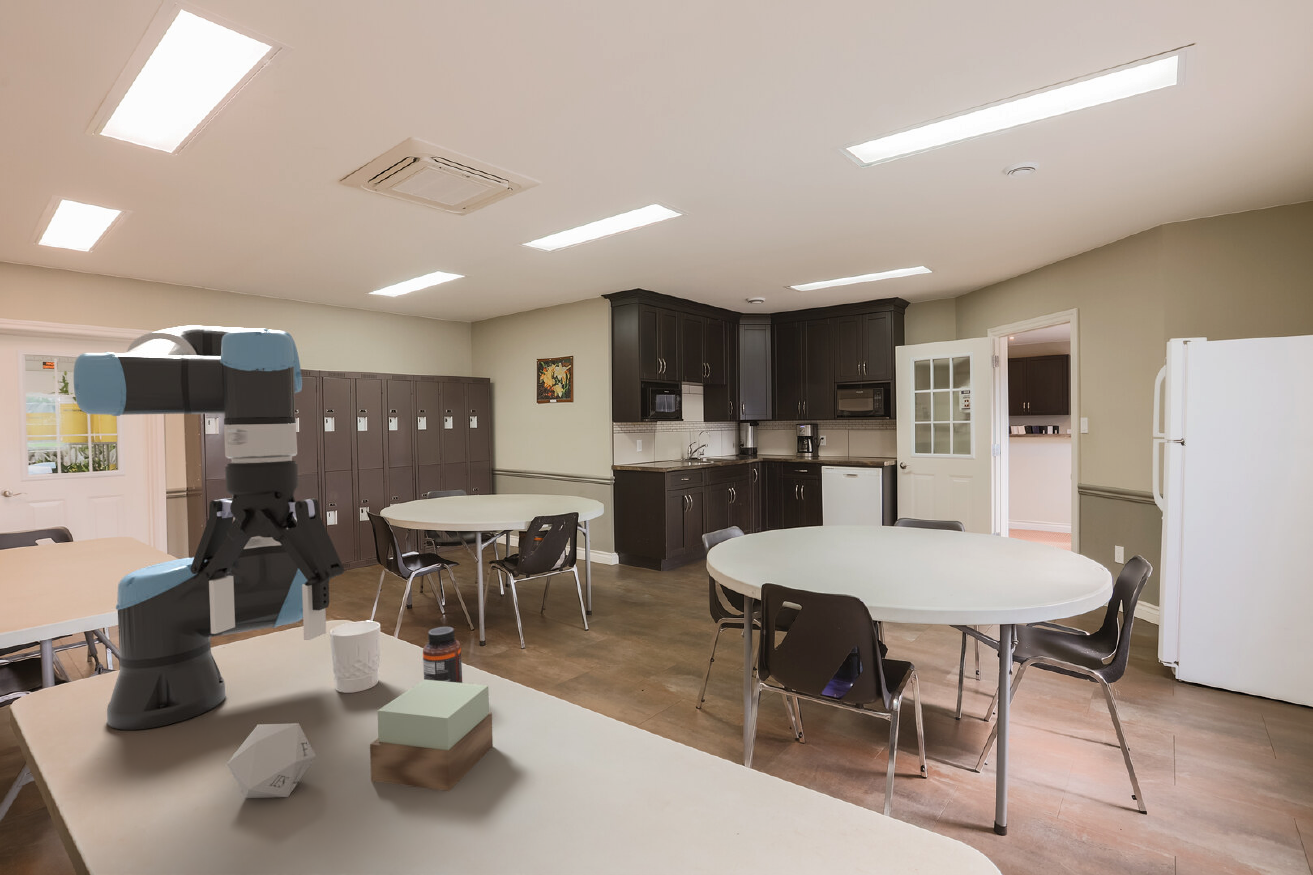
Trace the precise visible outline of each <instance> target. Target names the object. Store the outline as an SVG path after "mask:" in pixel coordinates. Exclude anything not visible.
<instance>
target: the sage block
mask: <svg viewBox="0 0 1313 875" xmlns="http://www.w3.org/2000/svg"><path fill="white" fill-rule="evenodd" d="M489 691H490V690H489V685H485V684H475V683H466V682H462V683H456V682H446V681H435V680H424V679H423V680H422V681H420V682H419V683H417V684H416V685H414V686H412V687H411V688H409V689H407V690H406V691H405V692H403V693H402V694H400V695H398V696H397V697H395V698H394V699H393V700H391V701H390V702H388V703H386V704H385V705H384V706H382V707H381V708H379V709H378V710H377V739H378V742H385V743H393V744H401V745H410V746H418V747H426V748H434V749H442V750H449V749H450V748H452V747H453V746H454V745H455V744H456V743H457V742H458V741H459V740H461V739H462V738H463V737H464V736H465V735H466V734H467V733H468V732H470V731H471V730H472V729H473V728H474V727H475V726H476V725H477V724H479V723H480V722H481V721H482V720H483V719H484V718H485V717H486V716H488V715H489V713H490V698H489V696H490V695H489V694H490V693H489Z"/></svg>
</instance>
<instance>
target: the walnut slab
mask: <svg viewBox="0 0 1313 875" xmlns="http://www.w3.org/2000/svg"><path fill="white" fill-rule="evenodd" d="M493 738H494V737H493V712H489V715H488V716H486V717H485V718H484V719H483V720H482V721H481V722H480V723H479V724H477V725H476V726H475V727H474V728H473V729H472V730H471V731H470V732H468V733H467V734H466V735H465V736H464V737H463V738H462V739H461V740H459V741H458V742H457V743H456V744H455V745H454V746H453V747H452V748H450V749H449V750H442V749H434V748H426V747H418V746H410V745H401V744H393V743H385V742H378V738H376V739H375V740H374V741H372V742H371V743H369V750H370V752H369V754H370V781H371V782H378V783H385V784H386V783H387V784H395V785H401V786H402V785H403V786H409V787H417V788H424V789H425V788H426V789H432V790H440V791H448V792H450V791H451V790H452V789H453V788H454V787H455V786H456V784H457V783H459V781H461V780H462V778H464V776H466V774H467V773H468V772H469V771H471V769H472V768H474V767H475V765H476V764H477V763H478V762H479V761H480V760H481V759H482V758H483V757H484V756H485V755H486V754H487V753H488V752H489V751H490V750H491V749H492V748H493V747H494V745H493V744H494V743H493V742H494V740H493Z"/></svg>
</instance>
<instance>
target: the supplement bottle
mask: <svg viewBox="0 0 1313 875" xmlns="http://www.w3.org/2000/svg"><path fill="white" fill-rule="evenodd" d="M422 660H423V661H422V663H423V664H422V665H423V667H422V668H423V680H435V681H446V682H456V683H463V667H462V666H463V665H462V664H463V663H462V647H461V643H460V641H459V640H457V639H456V638H455V629H454V628H453V627H451V626H439V627H435V628H432V629H430V630H428V642H427V643H426V644H425V645H424V647H423V649H422Z"/></svg>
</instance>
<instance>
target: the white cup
mask: <svg viewBox="0 0 1313 875" xmlns="http://www.w3.org/2000/svg"><path fill="white" fill-rule="evenodd" d="M329 636H330V650H331V661H332V669H333V675H334V688H335V690H336V691H337V692H338V693H339V692H340V693H345V694H347V693H350V694H351V693H358V692H363V691H367V690H369V689H371V688H373V687H375V686H376V685H377V684H378V682H379V672H380V671H379V669H380V662H381V661H380V656H381V623H380V622H378V621H373V620H361V621H353V622H346V623H343V624H340V625H337V626H335V627H333V628H332V629H330V630H329Z"/></svg>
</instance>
